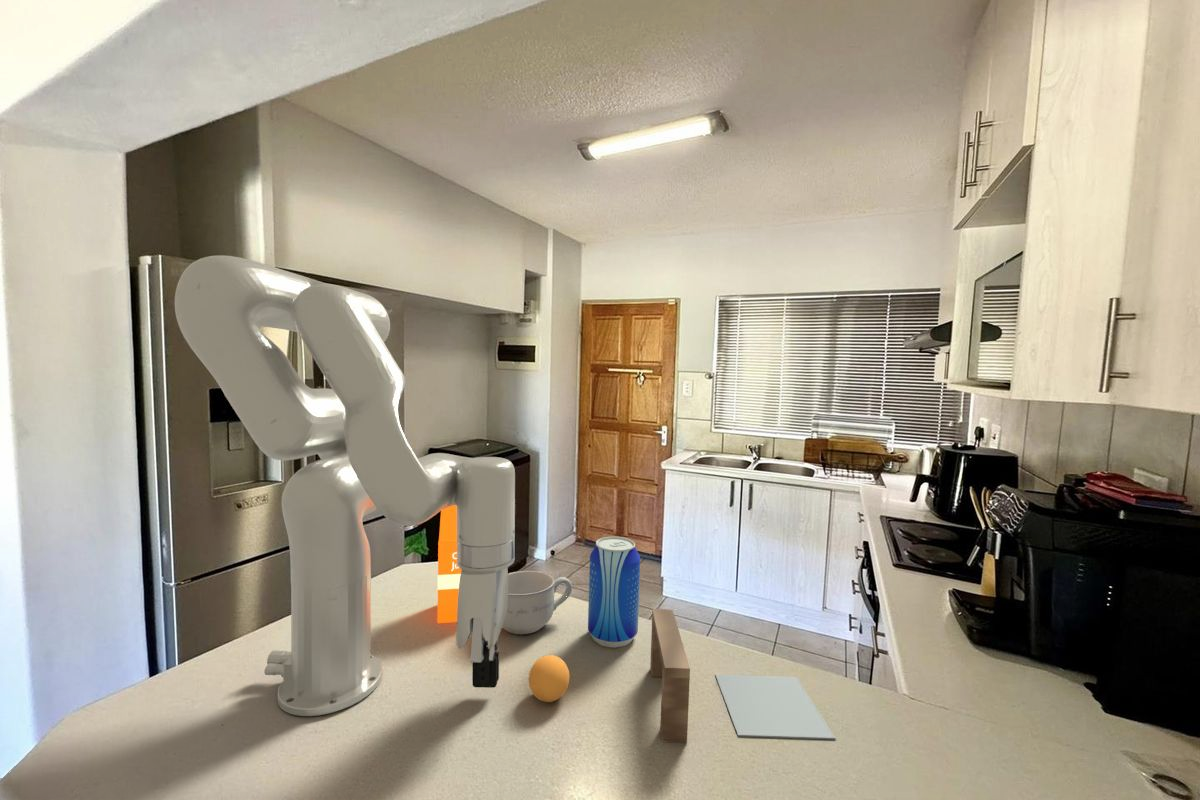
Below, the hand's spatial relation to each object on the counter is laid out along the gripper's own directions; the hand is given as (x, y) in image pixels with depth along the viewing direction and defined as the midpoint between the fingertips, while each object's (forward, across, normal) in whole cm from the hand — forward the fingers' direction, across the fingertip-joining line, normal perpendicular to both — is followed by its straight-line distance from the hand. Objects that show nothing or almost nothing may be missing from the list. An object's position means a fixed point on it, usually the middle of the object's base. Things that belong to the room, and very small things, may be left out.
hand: (485, 683), depth 66 cm
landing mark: (+2, 0, +39) cm, 39 cm away
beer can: (+2, -16, +18) cm, 24 cm away
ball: (-1, 0, +9) cm, 9 cm away
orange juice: (+2, -23, -10) cm, 25 cm away
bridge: (+2, 0, +25) cm, 25 cm away
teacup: (+2, -19, +4) cm, 19 cm away
